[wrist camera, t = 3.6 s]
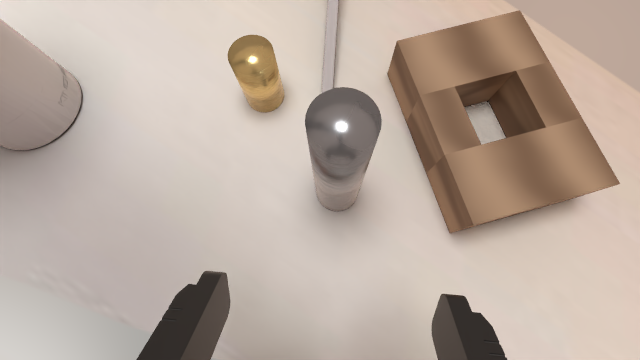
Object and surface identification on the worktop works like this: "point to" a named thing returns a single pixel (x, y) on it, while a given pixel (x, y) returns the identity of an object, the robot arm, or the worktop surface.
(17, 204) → the worktop surface
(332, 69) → the caliper
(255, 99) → the short pin
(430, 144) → the hole block
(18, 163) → the worktop surface
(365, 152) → the long pin
